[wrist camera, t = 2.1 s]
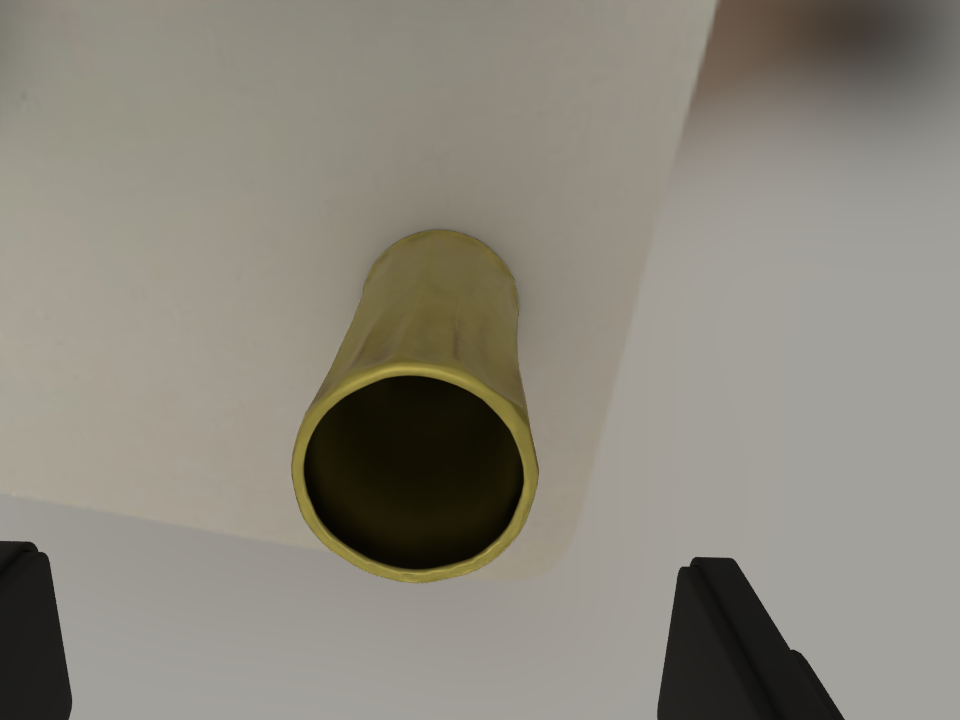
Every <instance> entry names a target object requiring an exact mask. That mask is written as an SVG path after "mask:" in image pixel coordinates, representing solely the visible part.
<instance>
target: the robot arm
mask: <svg viewBox="0 0 960 720" xmlns="http://www.w3.org/2000/svg"><path fill="white" fill-rule="evenodd" d="M71 708H72V695H71V689H70V683H69V677H68V671H67V665H66V659H65V653H64V647H63V641H62V635H61V629H60V622H59V616H58V610H57V604H56V598H55V592H54V586H53V580H52V574H51V568H50V562H49V559H48V556H47V555H46V554H45V553H43V552H38V549H37V547H36V546H35V544H33V543H31V542H19V541H0V720H68V719H69V716H70V712H71ZM657 718H658V720H845V719H844V718H843V716H842V715H841V713H840V712H839V710H838V708H837V707H836V705H835V704H834V702H833V701H832V699H831V698H830V696H829V694H828V693H827V691H826V690H825V688H824V687H823V685H822V683H821V682H820V680H819V679H818V677H817V675H816V674H815V672H814V671H813V669H812V668H811V666H810V664H809V663H808V661H807V660H806V659H805V658H804V656H803V655H802V654H801V653H799V652H797V651H795V650H790V648H789V647H788V645H787V643H786V642H785V640H784V639H783V637H782V636H781V634H780V632H779V631H778V629H777V627H776V626H775V624H774V622H773V621H772V619H771V617H770V616H769V614H768V613H767V611H766V610H765V608H764V606H763V605H762V603H761V601H760V600H759V598H758V596H757V595H756V593H755V592H754V590H753V588H752V587H751V585H750V584H749V582H748V580H747V579H746V577H745V575H744V574H743V573H742V571H741V569H740V568H739V566H738V564H737V563H736V561H735V560H734V559H732V558H710V557H709V558H708V557H695V558H693V559H692V561H691V564H690V567H681V568H680V570H679V573H678V577H677V584H676V591H675V597H674V604H673V610H672V617H671V623H670V629H669V636H668V643H667V649H666V657H665V663H664V669H663V675H662V682H661V688H660V695H659V701H658V710H657Z"/></svg>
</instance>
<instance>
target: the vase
mask: <svg viewBox="0 0 960 720" xmlns="http://www.w3.org/2000/svg"><path fill="white" fill-rule="evenodd" d="M518 314H519V306H518V296H517V291H516V286H515V283H514V280H513V277H512V275H511V273H510V271H509V270H508V268H507V267H506V265H505V264H504V263H503V261H502V260H501V259H500V258H499V257H498V256H497V255H496V254H495V253H494V252H493V251H492V250H490V249H489V248H488V247H487V246H486V245H484V244H483V243H482V242H480V241H478V240H476V239H474V238H472V237H470V236H467V235H464V234H461V233H457V232H452V231H446V230H431V231H425V232H420V233H417V234H414V235H411V236H408V237H406V238H404V239H402V240H400V241H398V242H396V243H395V244H393V245H392V246H391V247H390V248H388V249H387V250H386V251H385V252H384V253H383V254H382V255H381V256H380V257H379V259H378V260H377V261H376V262H375V264H374V265H373V267H372V269H371V271H370V272H369V275H368V277H367V279H366V281H365V284H364V288H363V296H362V298H361V301H360V303H359V306H358V308H357V310H356V313H355V316H354V319H353V321H352V323H351V325H350V327H349V330H348V332H347V334H346V336H345V338H344V340H343V342H342V344H341V347H340V349H339V351H338V353H337V356H336V358H335V360H334V362H333V364H332V366H331V368H330V370H329V372H328V374H327V376H326V378H325V380H324V382H323V384H322V385H321V387H320V389H319V391H318V392H317V394H316V396H315V398H314V400H313V401H312V403H311V405H310V406H309V408H308V410H307V411H306V413H305V416H304V418H303V421H302V423H301V426H300V428H299V431H298V435H297V438H296V441H295V445H294V449H293V455H292V464H291V470H292V480H293V485H294V490H295V494H296V499H297V502H298V505H299V508H300V511H301V513H302V516H303V518H304V520H305V522H306V523H307V525H308V526H309V527H310V529H311V530H312V532H313V533H314V534H315V535H316V536H317V537H318V539H319V540H320V541H321V542H322V543H323V544H324V545H325V546H326V547H328V548H329V549H330V550H331V551H333V552H334V553H336V554H337V555H339V556H340V557H342V558H343V559H345V560H347V561H348V562H350V563H351V564H353V565H354V566H356V567H358V568H360V569H362V570H364V571H366V572H368V573H371V574H373V575H376V576H380V577H384V578H387V579H392V580H396V581H400V582H409V583H428V582H435V581H439V580H444V579H448V578H453V577H458V576H462V575H465V574H468V573H470V572H473V571H476V570H478V569H480V568H481V567H483V566H485V565H487V564H488V563H490V562H491V561H492V560H494V559H495V558H496V557H498V556H499V555H500V554H501V553H502V552H503V551H504V550H505V549H506V548H507V547H508V546H509V545H510V544H511V543H512V542H513V541H514V539H515V538H516V537H517V536H518V534H519V533H520V531H521V529H522V528H523V526H524V524H525V522H526V520H527V517H528V514H529V512H530V509H531V506H532V503H533V500H534V496H535V492H536V489H537V485H538V475H539V467H538V462H537V457H536V452H535V447H534V443H533V438H532V434H531V429H530V423H529V417H528V411H527V404H526V399H525V394H524V390H523V385H522V379H521V375H520V370H519V364H518V352H517V327H518Z"/></svg>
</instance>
